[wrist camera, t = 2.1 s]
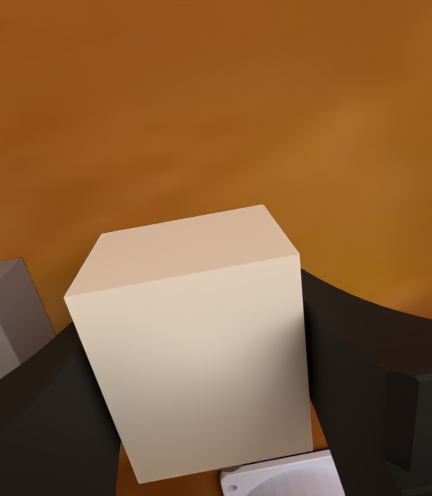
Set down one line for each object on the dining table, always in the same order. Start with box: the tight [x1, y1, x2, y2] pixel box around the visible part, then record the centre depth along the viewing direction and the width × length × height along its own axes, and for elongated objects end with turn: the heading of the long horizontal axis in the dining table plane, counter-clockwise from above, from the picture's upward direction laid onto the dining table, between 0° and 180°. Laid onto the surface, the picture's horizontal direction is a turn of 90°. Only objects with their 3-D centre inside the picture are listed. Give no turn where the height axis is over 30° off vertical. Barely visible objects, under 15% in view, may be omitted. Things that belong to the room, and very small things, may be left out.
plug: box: [64, 205, 313, 484], centre depth 11 cm, size 8×5×6 cm, turn 9°
